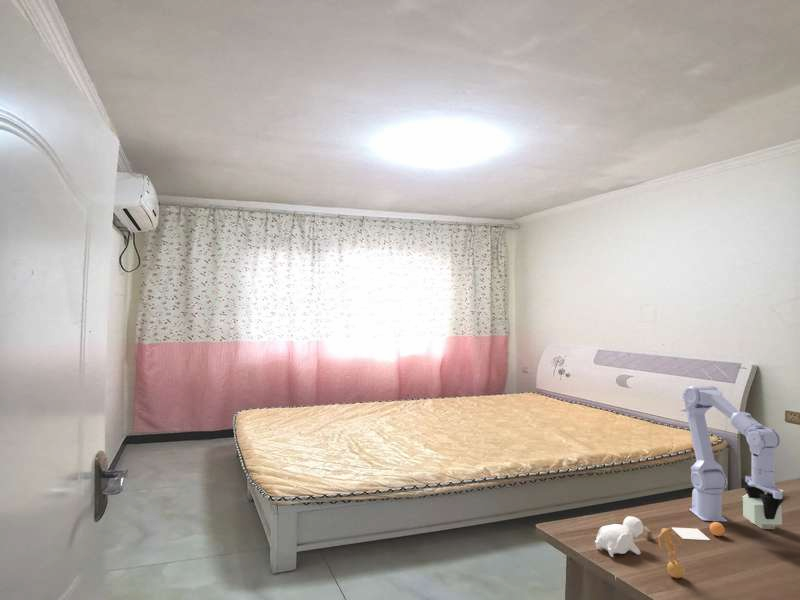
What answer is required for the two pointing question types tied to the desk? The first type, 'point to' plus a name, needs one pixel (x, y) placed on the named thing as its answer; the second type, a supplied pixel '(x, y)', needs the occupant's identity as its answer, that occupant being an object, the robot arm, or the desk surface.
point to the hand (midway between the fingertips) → (763, 514)
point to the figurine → (671, 553)
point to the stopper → (646, 531)
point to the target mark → (690, 533)
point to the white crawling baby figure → (620, 536)
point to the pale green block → (759, 512)
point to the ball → (717, 529)
